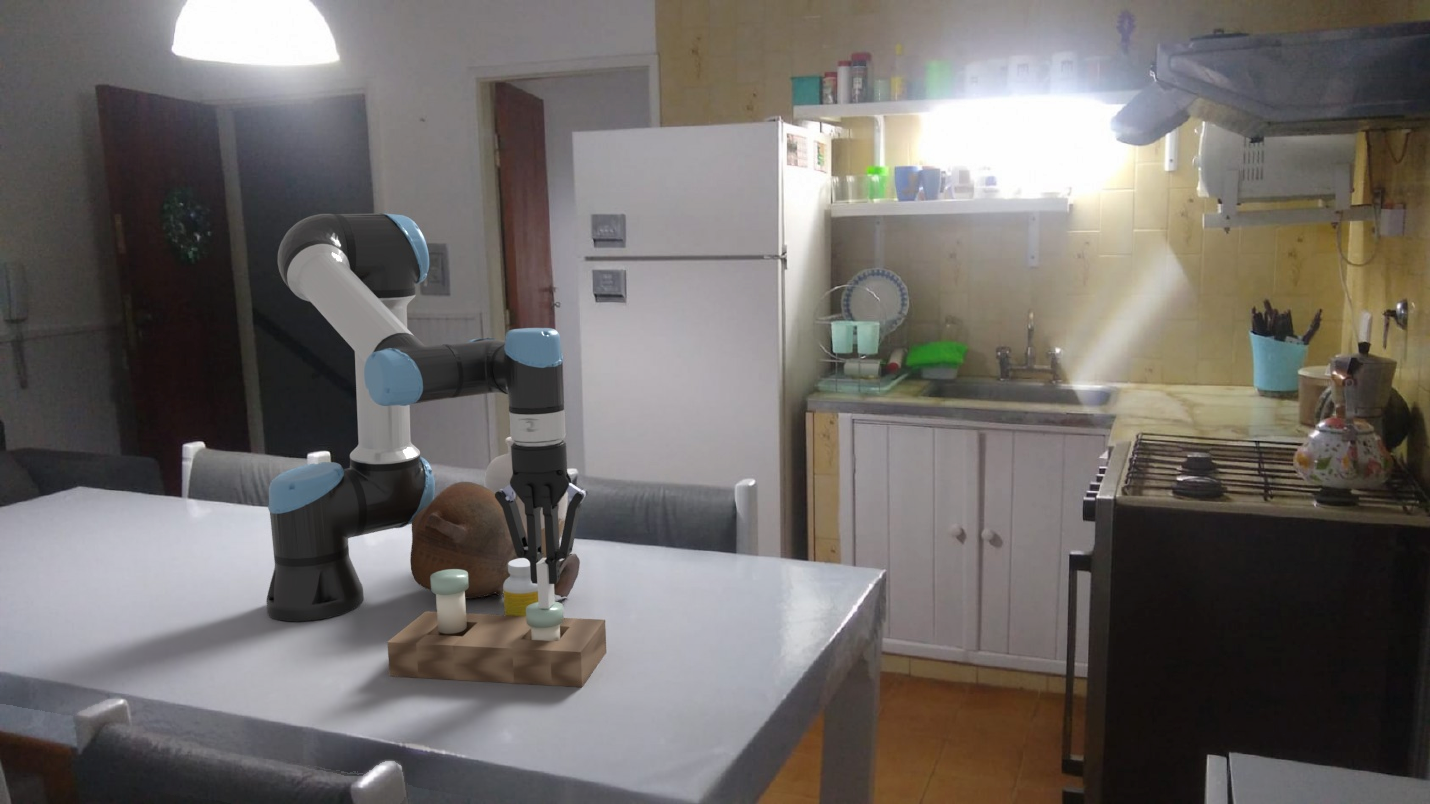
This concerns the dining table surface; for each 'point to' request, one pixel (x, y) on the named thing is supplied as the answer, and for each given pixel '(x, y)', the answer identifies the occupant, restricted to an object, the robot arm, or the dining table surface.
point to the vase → (500, 478)
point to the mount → (498, 651)
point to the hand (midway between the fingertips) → (546, 605)
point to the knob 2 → (545, 621)
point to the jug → (471, 542)
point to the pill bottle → (519, 588)
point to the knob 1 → (450, 599)
